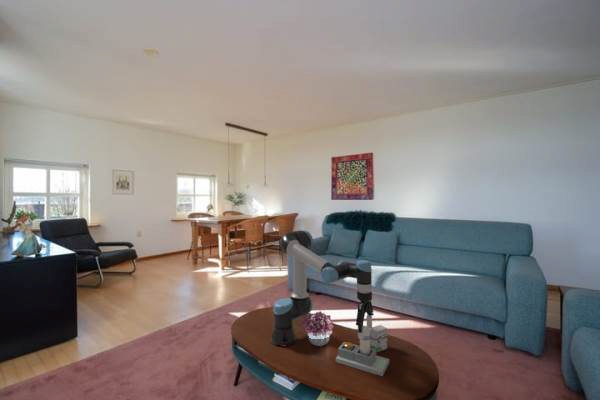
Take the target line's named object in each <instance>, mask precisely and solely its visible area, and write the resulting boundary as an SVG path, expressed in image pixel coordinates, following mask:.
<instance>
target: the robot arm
mask: <svg viewBox="0 0 600 400" xmlns="http://www.w3.org/2000/svg"><path fill="white" fill-rule="evenodd" d="M313 244H314V239H313V236H312V234H311V233H310V232H309V231H307V230H301V229H300V230H295V231H294V230H293V231H287V232H285V233H283V234H282V236H281V237H280V239H279V246H280V248H281V250H282V251H283V252H284V253H285V254H287V255H289V256H292V258H293V259H292V262H293V263H292V265H293V267H292V292H291V293H290V298H288V297H286V298H280V299H278V300H276V301H275V302H274V303H273V309H272V311H273V329H272V333H271V335H270V342H271V341H272V343H274V344H276V345H281V346H280V347H285V346H284V345H289V346H291V345H290V344H292V345H294V344H295V343H296V342H297V335H296V332H295V329H294V320H296V319H299V318H302V317H304V316H307V315H308V314H310V313H311V311H312V310H313V305H314V304H313V300H312V297H310V294H309V293H308V292H307V285H308V284H307V279H308V277H307V276H308V275H307V272H308V271H307V269H308V268H307V267H309V268H311V269H312V270H314V271H315V272H317V273H318V274H320V276H321V279H322V281H324V282H325V283H326V284H329V283H334V282H337V281H340V280H343V279H344V280H345V279H347V278H352V279H356V298H357V300H359V301H360V302H359V303H357V314H356V320H355V321H356V322H355V326H357V339H359V340H360V339H364V326H365V325H364V321H365V315H366V314H367V315H366V326H368V327H369V328H370V330H371V329H372V327H373V316H374V314H375V313H374V309H373V304H372V300H373V292H372V290H373V287H374V286H373V284H372V283H373V281H372V279H373V278H372V277H373V276H372V271H373V269H372V263H371V261H369V260H366V259H365V260H364V259H361V260H359V259H358V260H357V261H356V263H355V262H348V261H339V262H338V263H337V264H336V265H334V264H333V263H331V262H329V261H327V260H326V259H324V258H322V257H321V256H319V255H318V254H316V253H314V252H313V251H312V250H310V248H311V247H312V246H313ZM295 341H296V342H295ZM294 342H295V343H294ZM272 343H271V344H272ZM293 343H294V344H293ZM274 344H273V345H274ZM276 345H275V346H276ZM282 345H283V346H282Z"/></svg>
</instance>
